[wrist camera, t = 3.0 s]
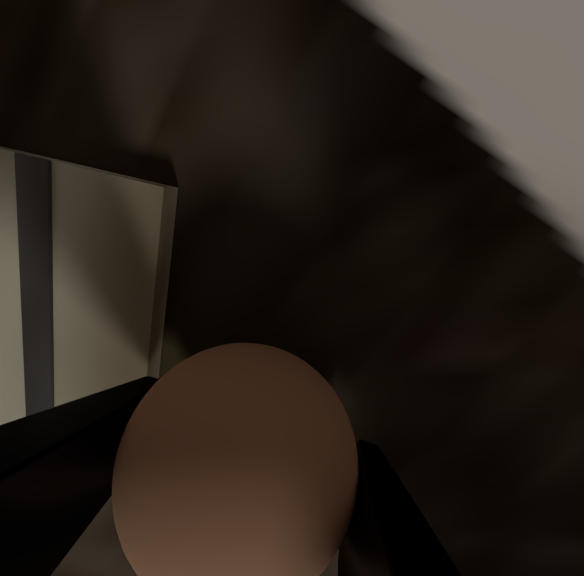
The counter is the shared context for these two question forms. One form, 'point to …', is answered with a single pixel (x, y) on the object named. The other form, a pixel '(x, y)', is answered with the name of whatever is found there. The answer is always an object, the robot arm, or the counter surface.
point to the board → (78, 280)
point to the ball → (236, 468)
